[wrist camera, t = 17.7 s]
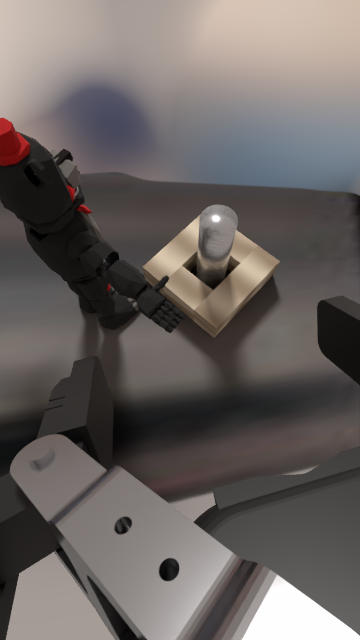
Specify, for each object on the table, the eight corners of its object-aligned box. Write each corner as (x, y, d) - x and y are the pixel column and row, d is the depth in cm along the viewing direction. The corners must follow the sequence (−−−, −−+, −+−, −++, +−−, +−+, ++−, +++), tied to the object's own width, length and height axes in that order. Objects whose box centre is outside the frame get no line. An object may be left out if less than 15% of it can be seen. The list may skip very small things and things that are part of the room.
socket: (214, 338, 47) (216, 328, 44) (145, 280, 51) (142, 267, 47) (272, 275, 51) (279, 261, 47) (205, 225, 55) (206, 209, 51)
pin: (211, 296, 50) (220, 242, 37) (190, 279, 51) (191, 221, 38) (230, 277, 51) (245, 218, 38) (208, 261, 52) (216, 198, 39)
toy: (202, 348, 47) (226, 199, 19) (167, 390, 45) (136, 293, 17) (59, 237, 54) (-76, 13, 26) (23, 269, 52) (-165, 62, 24)
